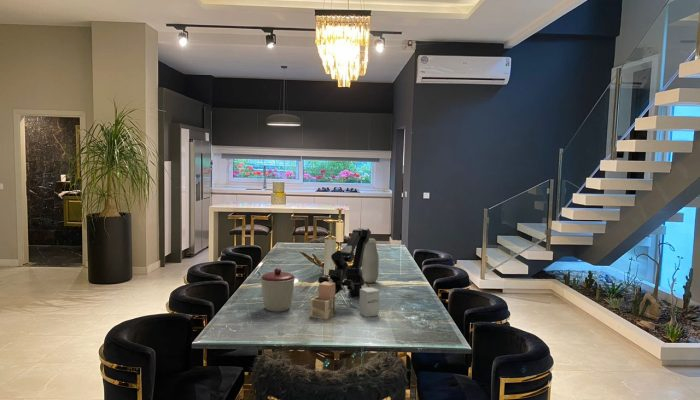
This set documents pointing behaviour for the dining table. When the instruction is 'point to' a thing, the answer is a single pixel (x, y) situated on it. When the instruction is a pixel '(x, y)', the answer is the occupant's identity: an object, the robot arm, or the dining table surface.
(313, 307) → the sleeve
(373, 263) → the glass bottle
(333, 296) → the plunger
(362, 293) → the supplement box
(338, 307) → the dining table surface
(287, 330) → the dining table surface
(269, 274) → the canister
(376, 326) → the dining table surface
